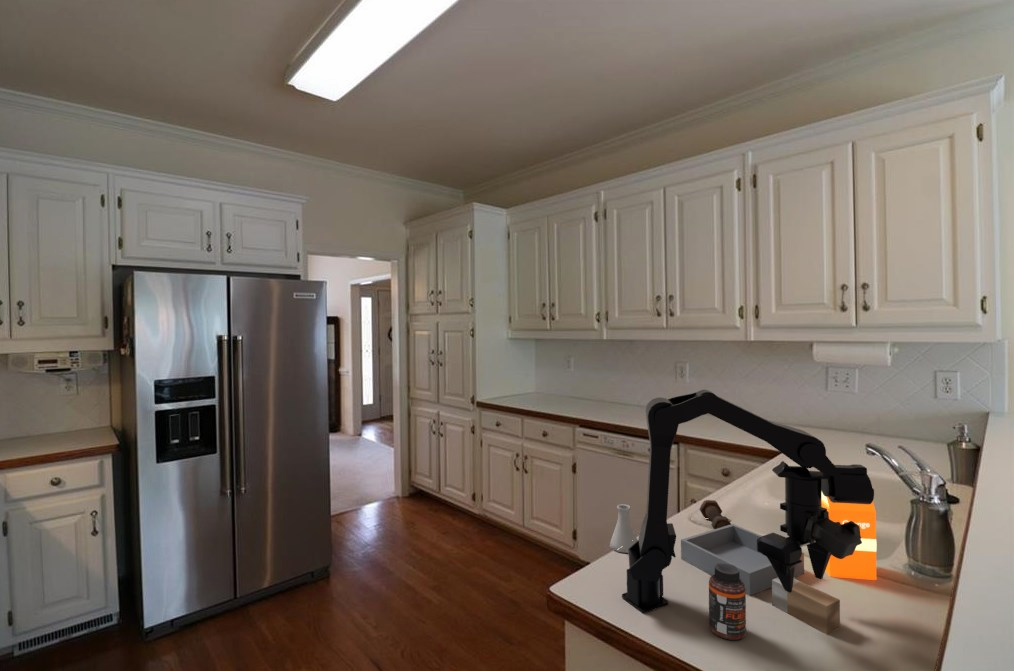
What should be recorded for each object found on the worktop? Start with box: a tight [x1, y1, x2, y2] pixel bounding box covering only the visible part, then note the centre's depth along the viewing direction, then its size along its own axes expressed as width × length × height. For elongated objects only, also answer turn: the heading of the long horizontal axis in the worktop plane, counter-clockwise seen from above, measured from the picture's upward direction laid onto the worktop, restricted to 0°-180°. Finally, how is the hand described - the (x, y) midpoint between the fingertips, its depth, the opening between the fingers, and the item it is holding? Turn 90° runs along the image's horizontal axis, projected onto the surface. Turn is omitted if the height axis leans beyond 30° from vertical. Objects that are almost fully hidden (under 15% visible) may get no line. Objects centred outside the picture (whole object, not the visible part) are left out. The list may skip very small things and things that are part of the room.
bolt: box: [699, 499, 732, 530], centre depth 128 cm, size 6×5×15 cm
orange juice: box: [822, 493, 877, 581], centre depth 106 cm, size 8×9×20 cm
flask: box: [608, 503, 639, 554], centre depth 119 cm, size 7×7×10 cm
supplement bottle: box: [708, 563, 747, 641], centre depth 86 cm, size 6×6×11 cm
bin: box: [680, 523, 805, 597], centre depth 108 cm, size 18×18×4 cm
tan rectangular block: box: [771, 578, 841, 636], centre depth 90 cm, size 4×10×5 cm, turn 27°
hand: (803, 584), depth 90 cm, fingers open, 9 cm apart
